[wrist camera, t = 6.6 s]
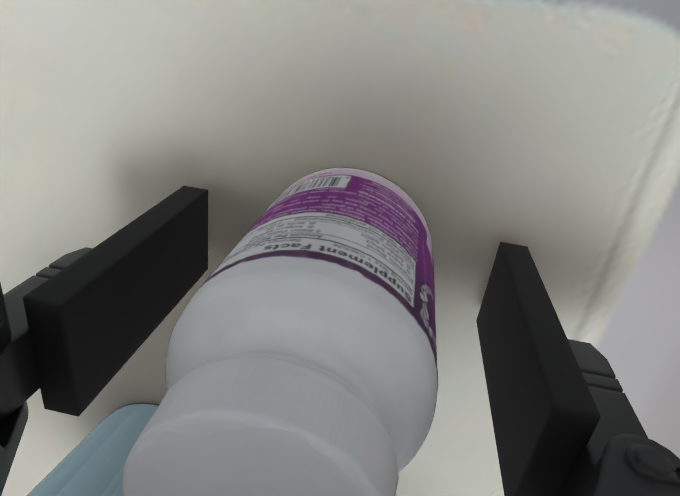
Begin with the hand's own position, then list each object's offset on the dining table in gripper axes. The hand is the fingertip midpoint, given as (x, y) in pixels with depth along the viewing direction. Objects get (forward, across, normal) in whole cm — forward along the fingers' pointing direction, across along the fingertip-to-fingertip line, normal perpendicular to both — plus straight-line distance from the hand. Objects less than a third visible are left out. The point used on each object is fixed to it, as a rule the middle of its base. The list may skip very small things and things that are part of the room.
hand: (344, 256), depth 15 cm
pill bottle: (+1, 0, 0) cm, 1 cm away
